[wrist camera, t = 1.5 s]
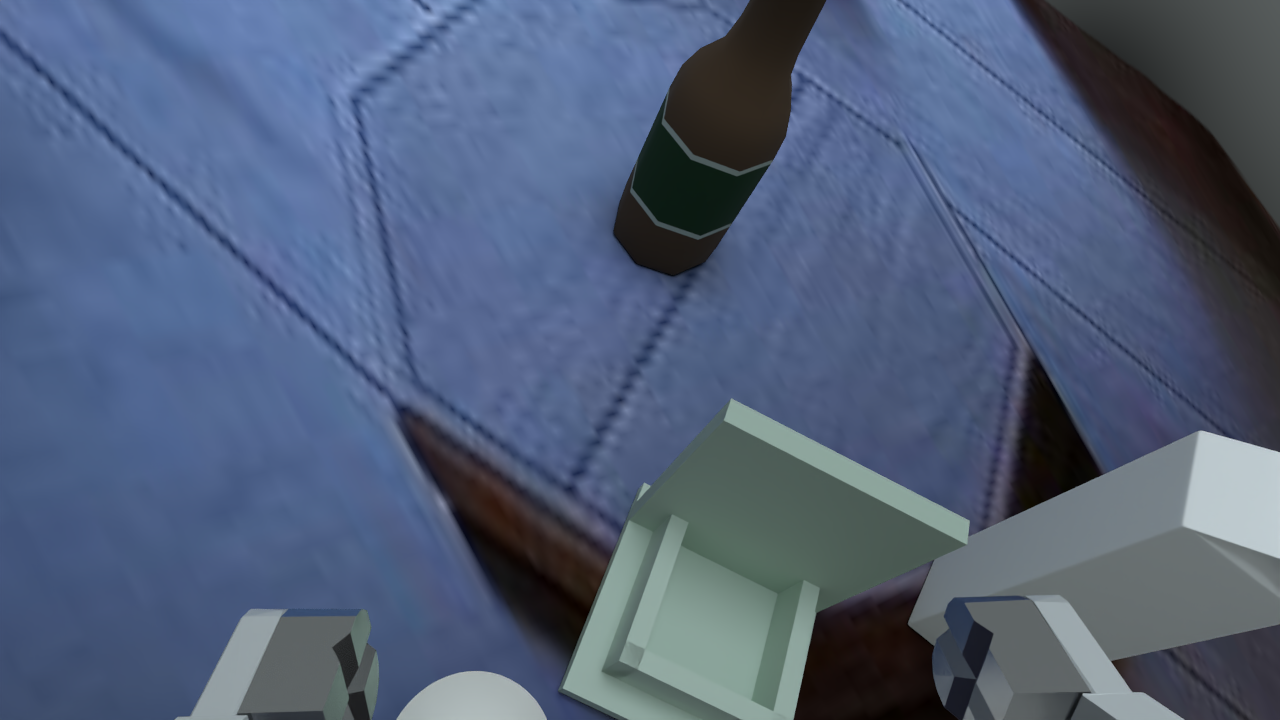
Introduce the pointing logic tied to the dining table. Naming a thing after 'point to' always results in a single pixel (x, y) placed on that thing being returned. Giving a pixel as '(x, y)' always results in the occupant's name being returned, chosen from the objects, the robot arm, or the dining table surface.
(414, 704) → the roll
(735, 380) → the dining table surface
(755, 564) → the holder
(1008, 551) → the milk
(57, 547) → the dining table surface
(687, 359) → the dining table surface
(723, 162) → the beer bottle
